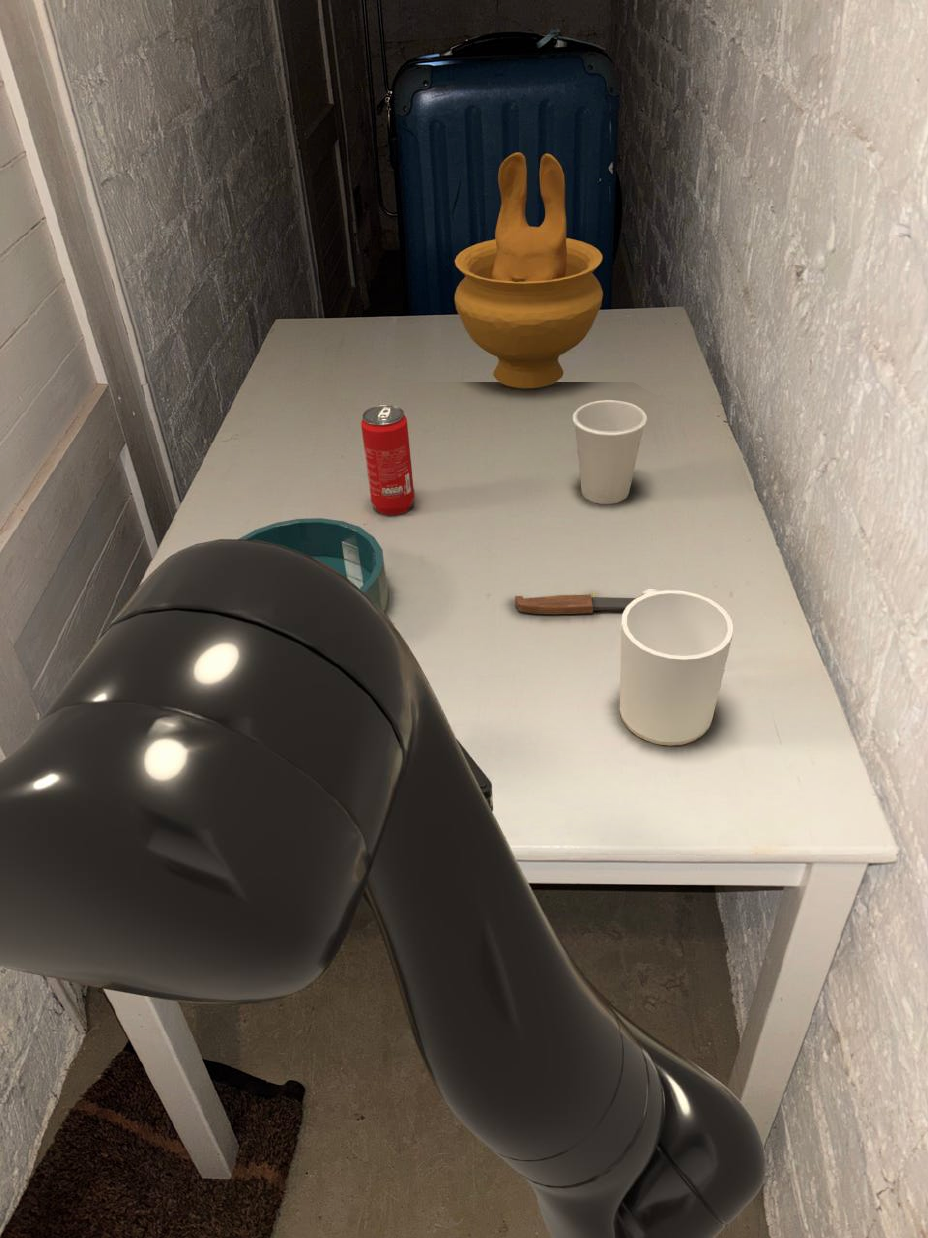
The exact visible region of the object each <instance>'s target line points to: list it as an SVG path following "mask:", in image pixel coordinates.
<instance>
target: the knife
mask: <svg viewBox="0 0 928 1238" xmlns="http://www.w3.org/2000/svg"><path fill="white" fill-rule="evenodd" d="M636 598H637V597H608V596H607V597H605V596H603V597H602V596H595V590H591V594H588V593H587V594H559V595H548V596H537V597H535V596H534V597H523V596H522V595H515V596H514V604H515V606H516V609H517V610H518V611H519V612H522V613H528V614H536V615H537V614H538V615H566V614H567V615H571V614H575V615H576V614H593V611H594V610H625V608H626V607H627V606H628V605H629V604H630V603H631V602H632V601H633V600H634V599H636Z"/></svg>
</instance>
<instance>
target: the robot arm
mask: <svg viewBox="0 0 928 1238" xmlns="http://www.w3.org/2000/svg"><path fill="white" fill-rule="evenodd" d="M493 798H494V796H493V784H492V781H491V780H490V779H489V778H488V776H487V775H486V774H485V772H484V771H483V770H482V769H481V767H480V766H479V765H478V764H477V762H476V761H475V760H474V758H473V757H472V756H471V755H470V754H469V752H468V751H467V750H466V748H465V747H464V746H463V744H462V743H461V742H460V741H459V740H458V739H457V737H456V735H455V733H454V731H453V728H452V727H451V725H450V722H449V721H448V719H447V716H446V714H445V713H444V709H443V708H442V706H441V704H440V701H439V699H438V697H437V696H436V693H435V691H434V689H433V687H432V686H431V683H430V681H429V680H428V677H427V676H426V673H425V672H424V671H423V669H422V667H421V665H420V663H419V661H418V659H417V658H416V656H415V655H414V653H413V651H412V649H411V648H410V647H409V645H408V643H407V642H406V640H405V639H404V637H403V636H402V634H401V633H400V631H399V630H398V628H397V627H396V626H395V625H394V623H393V622H392V621H391V619H390V617H388V615H387V614H386V613H385V612H383V611H382V610H381V609H380V608H379V607H378V605H377V604H376V603H375V602H374V601H373V600H371V599H370V598H369V597H368V596H367V595H366V594H365V593H364V592H362V591H361V590H360V589H359V588H358V587H357V586H356V585H355V584H353V583H352V582H351V581H350V580H349V579H347V578H346V577H345V576H343V575H342V574H340V573H338V572H337V571H335V570H334V569H332V568H330V567H329V566H327V565H325V564H324V563H322V562H321V561H319V560H317V559H315V558H313V557H310V556H308V555H305V554H303V553H300V552H298V551H295V550H293V549H290V548H288V547H285V546H282V545H277V544H272V543H268V542H263V541H258V540H248V539H239V538H236V539H235V538H220V539H214V540H209V541H205V542H200V543H199V542H198V543H195V544H193V545H190V546H188V547H185V548H183V549H180V550H177V552H175V553H173V554H172V555H170V556H168V558H166V559H164V561H162V562H161V563H160V564H159V565H158V566H157V567H156V568H155V569H154V570H153V571H152V572H151V573H150V574H149V575H148V576H147V577H146V578H145V579H144V581H142V582H141V584H140V585H139V586H138V587H137V588H136V589H135V591H134V592H133V593H132V594H131V596H130V597H129V598H128V600H127V601H126V602H125V604H124V605H123V606H122V607H121V609H120V610H119V611H118V613H117V614H116V615H115V617H113V619H112V620H111V622H110V623H109V625H108V626H107V627H106V629H105V630H104V631H103V633H102V634H101V636H100V638H99V639H98V641H96V642H95V644H94V645H93V646H92V648H91V649H90V651H89V652H88V654H87V655H86V656H85V657H84V659H83V660H82V661H81V663H80V664H79V666H78V667H77V668H76V670H74V673H73V674H72V676H71V677H70V678H69V679H68V681H67V682H66V684H65V685H64V686H63V688H62V689H61V691H59V693H58V694H57V696H56V697H55V699H54V700H53V702H52V703H51V704H50V705H49V707H48V709H47V710H46V711H45V712H44V714H43V715H42V716H41V718H40V720H39V721H38V722H37V723H36V725H35V727H34V728H33V730H32V731H31V733H29V735H28V736H27V737H26V739H25V740H24V741H23V742H22V743H21V745H20V746H19V747H18V748H17V749H16V750H15V751H14V752H12V753H11V754H10V755H9V756H7V757H6V758H4V759H3V760H2V761H0V968H3V969H8V970H12V971H16V972H22V973H27V974H30V975H36V976H41V977H46V978H50V979H54V980H60V981H64V982H68V983H74V984H79V985H84V986H89V987H92V988H93V987H94V988H98V989H101V990H108V991H113V992H120V993H124V994H125V993H126V994H130V995H136V996H142V997H147V998H152V999H159V1000H164V1001H169V1002H170V1001H172V1002H181V1003H188V1004H189V1003H190V1004H196V1005H197V1004H198V1005H216V1006H217V1005H218V1006H219V1005H220V1006H234V1005H235V1006H239V1005H253V1004H256V1005H257V1004H261V1003H267V1002H271V1001H272V1002H273V1001H276V1000H277V1001H278V1000H281V999H285V998H287V997H289V996H292V995H294V994H296V993H299V992H300V991H303V990H305V989H307V988H308V987H309V988H310V986H311V985H312V984H313V983H314V982H315V981H316V980H318V979H319V978H320V977H322V976H323V975H324V974H325V972H326V971H327V970H328V969H329V967H330V966H331V964H332V963H333V961H334V960H335V958H336V956H337V954H338V952H339V951H340V949H341V947H342V945H343V943H344V941H345V940H346V937H347V935H348V933H349V931H350V929H351V926H352V924H353V921H354V919H355V916H356V913H357V911H358V908H359V906H360V903H361V901H362V899H363V898H364V900H365V902H366V903H367V905H368V907H370V909H371V910H372V913H373V915H374V919H375V922H376V924H377V926H378V930H379V932H380V935H381V938H382V941H383V943H384V946H385V949H386V953H387V956H388V959H389V961H390V965H391V968H392V971H393V974H394V977H395V981H396V984H397V989H398V991H399V995H400V999H401V1001H402V1002H401V1003H402V1005H403V1008H404V1012H405V1015H406V1019H407V1022H408V1025H409V1028H410V1031H411V1033H412V1037H413V1039H414V1041H415V1045H416V1047H417V1050H418V1052H419V1054H420V1057H421V1059H422V1061H423V1065H424V1067H425V1068H426V1071H427V1073H428V1075H429V1077H430V1079H431V1081H432V1083H433V1084H434V1086H435V1089H436V1090H437V1092H438V1093H439V1095H440V1096H441V1098H442V1099H443V1100H444V1102H445V1104H446V1105H447V1106H448V1108H449V1109H450V1110H451V1113H453V1115H454V1116H455V1118H457V1120H458V1121H459V1122H460V1123H461V1124H462V1125H463V1126H464V1127H465V1128H466V1129H467V1130H468V1131H469V1132H470V1133H471V1134H472V1135H474V1136H475V1137H476V1138H477V1139H478V1140H479V1141H480V1142H481V1143H482V1144H483V1145H484V1146H486V1147H487V1148H488V1149H490V1150H491V1151H492V1152H493V1153H494V1154H496V1155H497V1156H498V1157H499V1158H500V1159H502V1160H503V1161H504V1162H505V1163H506V1164H507V1165H508V1166H510V1167H511V1168H512V1169H513V1170H514V1171H516V1172H517V1173H518V1174H519V1175H520V1176H522V1177H523V1178H524V1179H525V1181H526V1182H527V1183H528V1184H529V1185H530V1187H531V1188H532V1192H533V1195H534V1197H535V1201H536V1203H537V1206H538V1208H539V1212H540V1215H541V1217H542V1220H543V1222H544V1225H545V1227H546V1229H547V1231H548V1234H549V1236H550V1238H717V1236H719V1234H721V1232H723V1231H724V1230H725V1228H726V1226H725V1225H729V1224H730V1223H732V1221H734V1220H735V1219H736V1218H737V1217H738V1216H739V1214H741V1213H742V1212H743V1210H745V1209H746V1207H748V1206H749V1204H750V1203H751V1202H752V1201H753V1200H754V1199H755V1197H756V1196H757V1195H758V1193H759V1192H760V1191H761V1189H762V1187H763V1185H764V1183H765V1180H766V1175H767V1158H766V1151H765V1146H764V1142H763V1139H762V1136H761V1133H760V1130H759V1129H758V1127H757V1125H756V1122H755V1120H754V1118H753V1116H752V1115H751V1113H750V1112H749V1111H748V1110H747V1108H746V1107H745V1105H744V1104H743V1102H741V1100H740V1099H739V1098H738V1097H737V1096H736V1095H735V1094H734V1092H732V1091H731V1090H730V1089H729V1088H728V1087H727V1086H726V1085H725V1084H723V1083H722V1082H721V1081H719V1079H717V1078H715V1077H714V1076H713V1075H712V1074H710V1073H709V1072H707V1070H705V1069H703V1068H702V1067H700V1066H699V1065H698V1064H696V1063H694V1062H693V1061H691V1060H690V1059H689V1058H687V1057H685V1056H684V1055H682V1054H681V1053H679V1052H677V1050H674V1048H671V1047H670V1046H669V1045H667V1044H665V1043H664V1042H663V1041H661V1040H659V1039H658V1038H657V1037H656V1036H654V1035H652V1034H651V1033H649V1031H647V1030H645V1029H644V1028H643V1027H641V1026H640V1025H638V1024H637V1023H636V1022H635V1021H633V1020H632V1019H631V1018H630V1017H629V1016H627V1015H625V1013H623V1012H622V1011H621V1010H619V1008H617V1007H616V1006H615V1005H614V1004H613V1003H612V1002H611V1001H610V1000H609V999H608V998H607V997H606V996H604V994H602V992H601V991H600V990H599V989H597V987H595V985H594V984H593V983H592V981H590V979H589V978H588V977H587V976H586V975H585V973H584V972H583V971H582V970H581V968H580V966H579V965H578V964H577V963H576V961H575V960H574V959H573V957H572V956H571V954H570V952H569V951H568V950H567V948H566V947H565V945H564V943H563V942H562V940H561V939H560V937H559V936H558V934H557V932H556V930H555V929H554V927H553V925H552V924H551V922H550V920H549V919H548V917H547V915H546V914H545V913H544V910H543V908H542V906H541V905H540V903H539V901H538V899H537V897H536V895H535V893H534V891H533V889H532V887H531V886H530V884H529V882H528V880H527V878H526V876H525V874H524V872H523V870H522V868H521V866H520V864H519V863H518V860H517V858H516V856H515V854H514V852H513V850H512V847H511V846H510V844H509V841H508V840H507V838H506V836H505V833H504V832H503V830H502V828H501V826H500V824H499V823H498V820H497V818H496V816H495V815H494V813H493V812H494V799H493Z"/></svg>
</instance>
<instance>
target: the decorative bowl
mask: <svg viewBox="0 0 928 1238" xmlns="http://www.w3.org/2000/svg"><path fill="white" fill-rule="evenodd" d="M539 164H540V165H539V189H540V196H541V198H542V199H541V200H542V202H543V204H544V212H545V214H544V220H543V222H542V223H541V225H539V226H530V225H529V224H528V222H527V219H526V204H527V194H528V175H527V174H528V168H527V161H526V157H525V155H524V154H523V153H522V152H514V153H512V154H511V155H509V156H507V157H506V158H505V159H504V160H503V161H502V162H501V164H500V166H499V168H498V173H497V174H498V175H497V182H498V188H499V192H500V193H499V194H500V197H501V199H500V200H501V204H500V209H499V213H498V217H497V221H496V227H495V231H494V232H495V233H494V237H495V238H494V239H490V240H485V241H482V242H479V243H476V244H474V245H470V246H469V247H467V248H465V249H463V250H462V251H460V252H459V253H458V255H456V257H455V259H454V263H455V266H456V268H457V269H458V270H459V271H460V272H461V273H462V274H463V275H464V278H463V279H462V280H461V281H460V282H459V283H458V286H457V287H456V290H455V293H454V304H455V309H456V311H457V314H458V316H459V318H460V320H461V323H462V325H463V328H464V329H465V331H466V332H467V334H468V336H469V337H470V339H471V340H472V341H473V342H474V343H475V344H476V345H477V347H479V348H480V349H482V350H483V351H485V352H486V353H488V354H490V355H492V356H494V357H497V360H498V362H497V365H496V366H495V369H494V370H493V373H492V376H493V377H494V379H495V380H496V381H497V382H499V383H500V384H502V385H505V386H508V387H512V388H516V389H517V388H518V389H536V388H537V389H538V388H542V387H546V386H551V385H553V384H555V383H557V382H558V381H560V380H561V379H562V378H563V376H564V369H563V368H562V366H561V364H560V362H559V357H560V356H561V355H564V354H566V353H568V352H569V351H571V350H572V349H574V348H575V347H577V346H578V345H579V344H580V343H581V342H582V341H583V340H584V339H585V337H587V335H588V333H589V332H590V331H591V329H592V327H593V324H594V322H595V320H596V318H597V316H598V314H599V311H600V309H601V307H602V303H603V296H604V292H603V289H602V286H601V283H600V281H599V280H598V278H597V277H596V276H595V274H594V273H593V272H594V271H595V270H596V269H597V268H598V267H599V266H600V264H601V263H602V261H603V254H602V252H601V251H600V250H599V249H598V248H597V247H595V246H594V245H592V244H589V243H587V242H584V241H582V240H577V239H573V238H569V237H568V238H567V216H566V182H565V173H564V172H563V171H564V170H563V168H562V166H561V164H560V163H559V161H558V160H557V159H556V158H555V157H554V156H553V155H552V154H550V153H544V154H543V155H542V156H541V158H540V163H539Z"/></svg>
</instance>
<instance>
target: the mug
mask: <svg viewBox="0 0 928 1238" xmlns="http://www.w3.org/2000/svg"><path fill="white" fill-rule="evenodd" d="M635 598H636V599H634V600H633V601H632V602H631V603H630V604H629V605H628V606H627V607H626V608H625V609H623V612H622V614H621V622H620V623H621V624H620V667H619V668H620V671H619V672H620V674H619V676H620V677H619V714H620V717H621V720H622V721H623V723H624V724H625V726H626V727H627V728H628V730H629V731H630V732H632V733H633V735H635V736H637V737H639V739H640V738H641V739H642V740H644V741H646V742H649V743H653V744H656V745H658V746H659V745H660V746H669V747H671V746H682V745H686V744H690V743H692V742H694V741H696V740H698V739H699V738H701V737H702V736H704V734H705V733H706V732H707V731H708V730H709V729H710V728H711V725H712V721H713V719H714V714H715V710H716V706H717V701H718V698H719V693H720V689H721V686H722V681H723V676H724V673H725V668H726V664H727V661H728V656H729V652H730V648H731V644H732V641H733V636H734V624H733V621H732V619H731V616H730V614H729V613H728V612H727V611H726V610H725V609H724V608H723V607H722V606H721V605H720V604H719V603H717V602H715V601H714V600H712V599H711V598H708V597H706V596H704V595H701V594H698V593H695V592H690V591H685V590H675V589H665V590H657V589H656V588H648V589H645V590H643V592H642V594H641V596H639V597H635Z"/></svg>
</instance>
